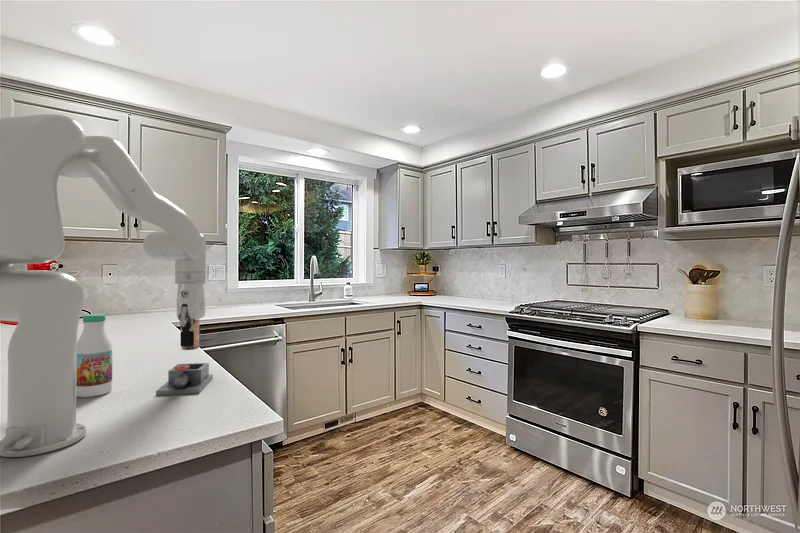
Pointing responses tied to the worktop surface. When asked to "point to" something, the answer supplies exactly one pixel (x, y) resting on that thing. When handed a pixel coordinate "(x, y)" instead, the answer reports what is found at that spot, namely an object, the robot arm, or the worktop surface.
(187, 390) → the block
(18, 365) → the robot arm
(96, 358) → the milk bottle
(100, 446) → the worktop surface
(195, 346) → the pipe stub
